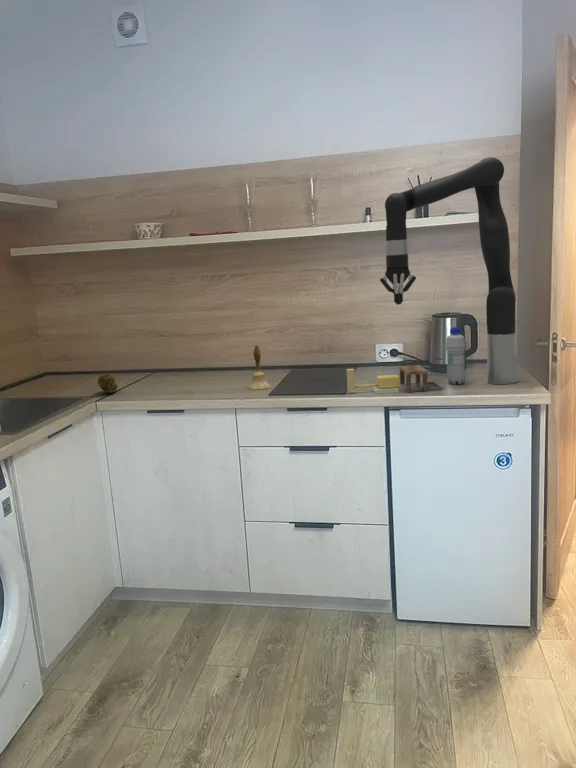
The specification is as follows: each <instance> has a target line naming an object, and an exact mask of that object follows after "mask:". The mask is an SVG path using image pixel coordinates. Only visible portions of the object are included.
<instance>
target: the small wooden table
mask: <svg viewBox="0 0 576 768" xmlns="http://www.w3.org/2000/svg"><path fill="white" fill-rule="evenodd" d="M421 375H422V376H421ZM412 376H415V383H421V377H422V382H423V391H422V392H423V393H425V392H426V393H427V391H428V382H429V381H428V379H429V378H428V370H427V369H426V368H425V367H423V366H422V365H420V364H414V365H413V364H412V365H400V366H399V384H406V392H405V393H406V394H411V393H412V391H411V383H412ZM428 392H429V391H428Z"/></svg>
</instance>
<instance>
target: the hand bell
mask: <svg viewBox="0 0 576 768" xmlns="http://www.w3.org/2000/svg"><path fill="white" fill-rule="evenodd" d="M253 358H254V359H253V360H254V361H255V372H254V373H252V380H251V383H250V385H249V386H248V390H254V391H255V390H257V391H258V390H261V391H262V390H265V389H266V390H267V389H269V388H271V385H270V384H269V383H268V382H267V379H266V376H265V375H266V374H265V373H264V372H263V371H261V363H260V362H261V349H260V347H259V345H254V350H253Z"/></svg>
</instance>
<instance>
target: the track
mask: <svg viewBox="0 0 576 768" xmlns="http://www.w3.org/2000/svg"><path fill="white" fill-rule="evenodd" d="M399 384H400V383H399ZM371 390H372V391H373V392H374V394H375V395H380V394H381V393H382V394H392V393H394V392H396V393H407V392H406V383H405V384H400V387H393V388H378V387H371ZM421 391H422V392H423V383H416V382H411V392H421Z"/></svg>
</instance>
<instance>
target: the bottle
mask: <svg viewBox="0 0 576 768" xmlns="http://www.w3.org/2000/svg"><path fill="white" fill-rule="evenodd" d="M449 332H450V333H449V335H448V336H447V337H446V342H445V351H446V361H447V363H446V365H447V366H446V367H447V368H446V380H447V383H448V384H449V385H452V384H453V386H454V385H456V384H458V385H463V384H464V383H465V381H466V369H465V368H466V367H465V364H466V363H465V351H466V340H465V336H464V335H462V334H461V329H460V328H459V327H456V326H454V327H451V328H450V330H449Z"/></svg>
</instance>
